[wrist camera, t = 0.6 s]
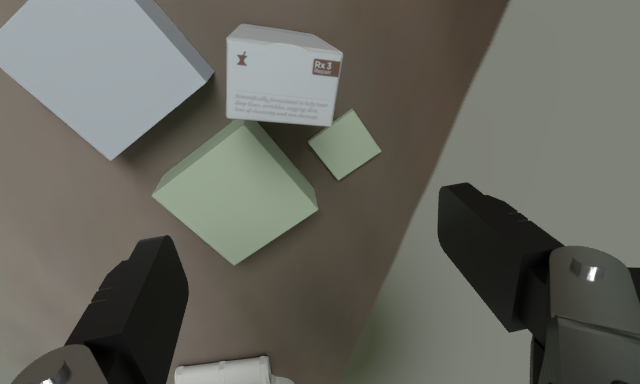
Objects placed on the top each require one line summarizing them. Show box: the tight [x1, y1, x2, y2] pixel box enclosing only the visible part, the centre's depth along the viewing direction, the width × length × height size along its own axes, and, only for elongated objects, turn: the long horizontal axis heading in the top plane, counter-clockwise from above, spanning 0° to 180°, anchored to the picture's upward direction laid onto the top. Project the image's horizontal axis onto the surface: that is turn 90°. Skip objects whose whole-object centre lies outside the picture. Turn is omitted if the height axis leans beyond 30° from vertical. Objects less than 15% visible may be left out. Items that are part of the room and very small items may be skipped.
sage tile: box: [308, 109, 381, 180], centre depth 33 cm, size 5×5×1 cm
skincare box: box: [226, 24, 343, 127], centre depth 24 cm, size 6×4×12 cm
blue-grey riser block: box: [0, 0, 214, 161], centre depth 26 cm, size 10×10×4 cm
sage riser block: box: [152, 119, 318, 265], centre depth 32 cm, size 10×10×4 cm
